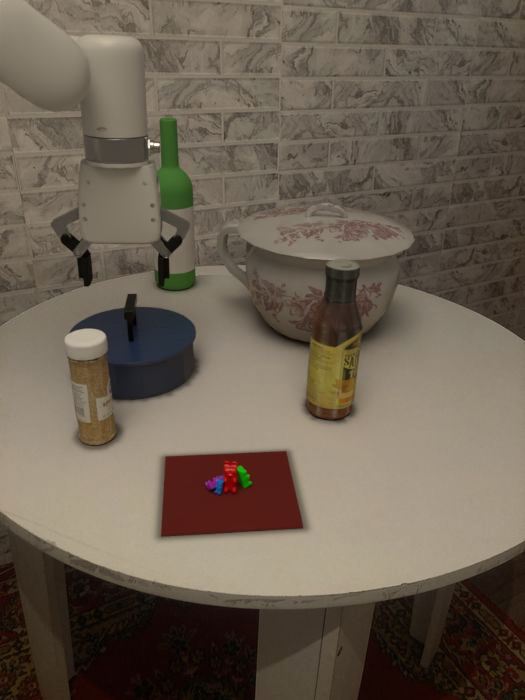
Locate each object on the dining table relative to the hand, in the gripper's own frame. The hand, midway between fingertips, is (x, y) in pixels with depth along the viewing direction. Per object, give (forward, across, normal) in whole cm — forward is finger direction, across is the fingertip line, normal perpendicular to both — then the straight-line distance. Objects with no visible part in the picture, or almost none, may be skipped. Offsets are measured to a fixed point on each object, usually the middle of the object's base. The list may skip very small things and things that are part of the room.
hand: (125, 283), depth 80 cm
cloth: (+13, -13, +27) cm, 32 cm away
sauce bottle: (+13, -27, +12) cm, 32 cm away
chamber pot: (+13, -30, -13) cm, 35 cm away
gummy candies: (+13, -12, +27) cm, 32 cm away
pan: (+13, -1, 0) cm, 13 cm away
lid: (+8, 0, 0) cm, 8 cm away
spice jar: (+14, +3, +16) cm, 21 cm away
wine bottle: (+13, -6, -32) cm, 35 cm away
